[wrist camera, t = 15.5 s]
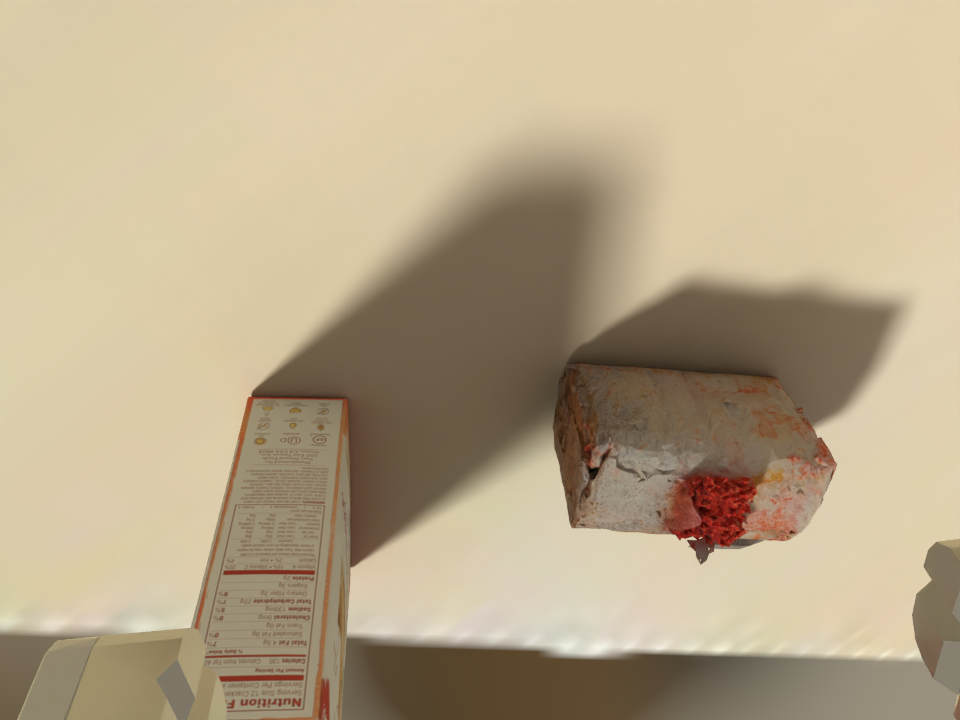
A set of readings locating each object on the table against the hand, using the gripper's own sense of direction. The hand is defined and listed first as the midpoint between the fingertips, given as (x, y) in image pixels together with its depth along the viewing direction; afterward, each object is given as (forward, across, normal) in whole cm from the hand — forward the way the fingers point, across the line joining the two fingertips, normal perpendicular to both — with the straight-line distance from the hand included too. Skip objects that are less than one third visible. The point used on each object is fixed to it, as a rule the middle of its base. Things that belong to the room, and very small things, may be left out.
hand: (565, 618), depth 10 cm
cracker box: (+34, +12, +27) cm, 45 cm away
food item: (+34, -10, +24) cm, 43 cm away
